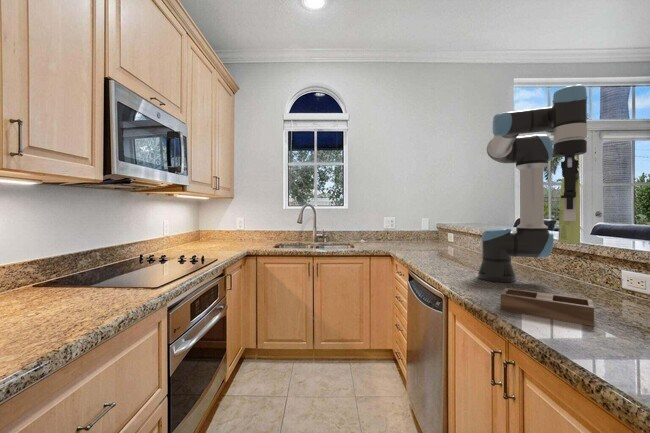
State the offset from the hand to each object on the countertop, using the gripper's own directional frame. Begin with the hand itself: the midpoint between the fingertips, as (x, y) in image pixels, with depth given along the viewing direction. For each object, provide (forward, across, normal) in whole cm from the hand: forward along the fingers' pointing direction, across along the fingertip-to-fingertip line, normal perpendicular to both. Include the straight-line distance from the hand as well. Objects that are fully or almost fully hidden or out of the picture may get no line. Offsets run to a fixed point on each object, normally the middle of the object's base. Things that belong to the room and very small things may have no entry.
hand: (569, 220), depth 86 cm
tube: (+7, 0, 0) cm, 7 cm away
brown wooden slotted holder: (+29, 0, -6) cm, 29 cm away
